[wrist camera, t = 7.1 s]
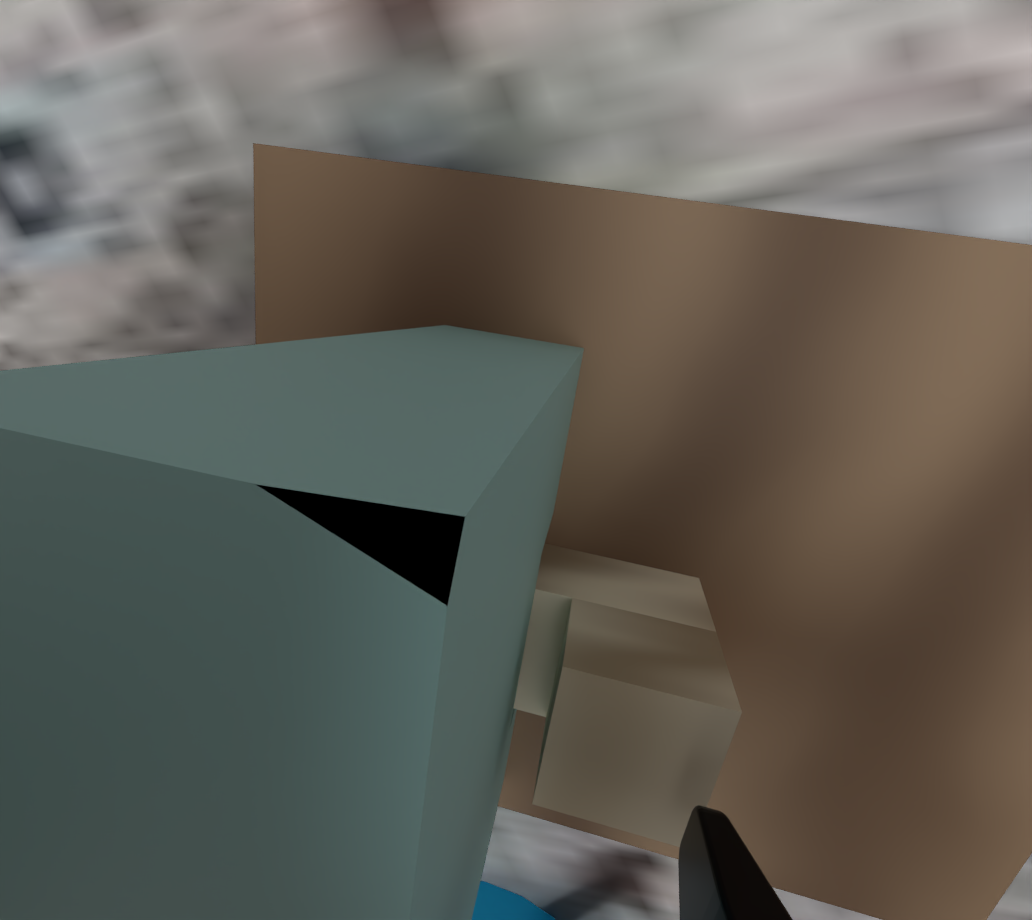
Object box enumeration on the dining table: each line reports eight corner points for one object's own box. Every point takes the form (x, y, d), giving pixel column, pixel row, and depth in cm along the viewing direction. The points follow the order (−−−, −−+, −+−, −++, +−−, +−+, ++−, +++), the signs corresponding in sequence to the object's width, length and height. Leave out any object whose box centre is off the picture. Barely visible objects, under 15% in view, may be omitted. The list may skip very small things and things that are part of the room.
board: (1341, 296, 9) (1411, 295, 8) (949, 909, 14) (968, 944, 13) (277, 154, 11) (253, 143, 10) (276, 715, 16) (260, 735, 15)
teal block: (584, 348, 10) (457, 526, 2) (503, 779, 14) (340, 1487, 6) (445, 325, 11) (-177, 387, 2) (403, 750, 14) (107, 1373, 6)
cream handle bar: (698, 578, 11) (742, 711, 8) (666, 684, 12) (690, 850, 9) (293, 487, 13) (157, 563, 9) (292, 589, 14) (169, 697, 10)
